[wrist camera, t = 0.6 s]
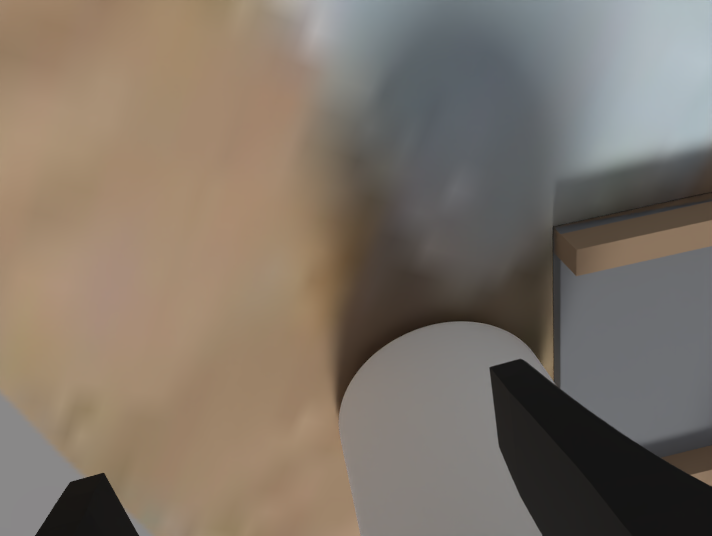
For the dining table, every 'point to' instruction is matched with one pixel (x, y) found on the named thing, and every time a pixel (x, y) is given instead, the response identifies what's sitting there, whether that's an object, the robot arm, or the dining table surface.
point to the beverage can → (433, 436)
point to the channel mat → (640, 325)
